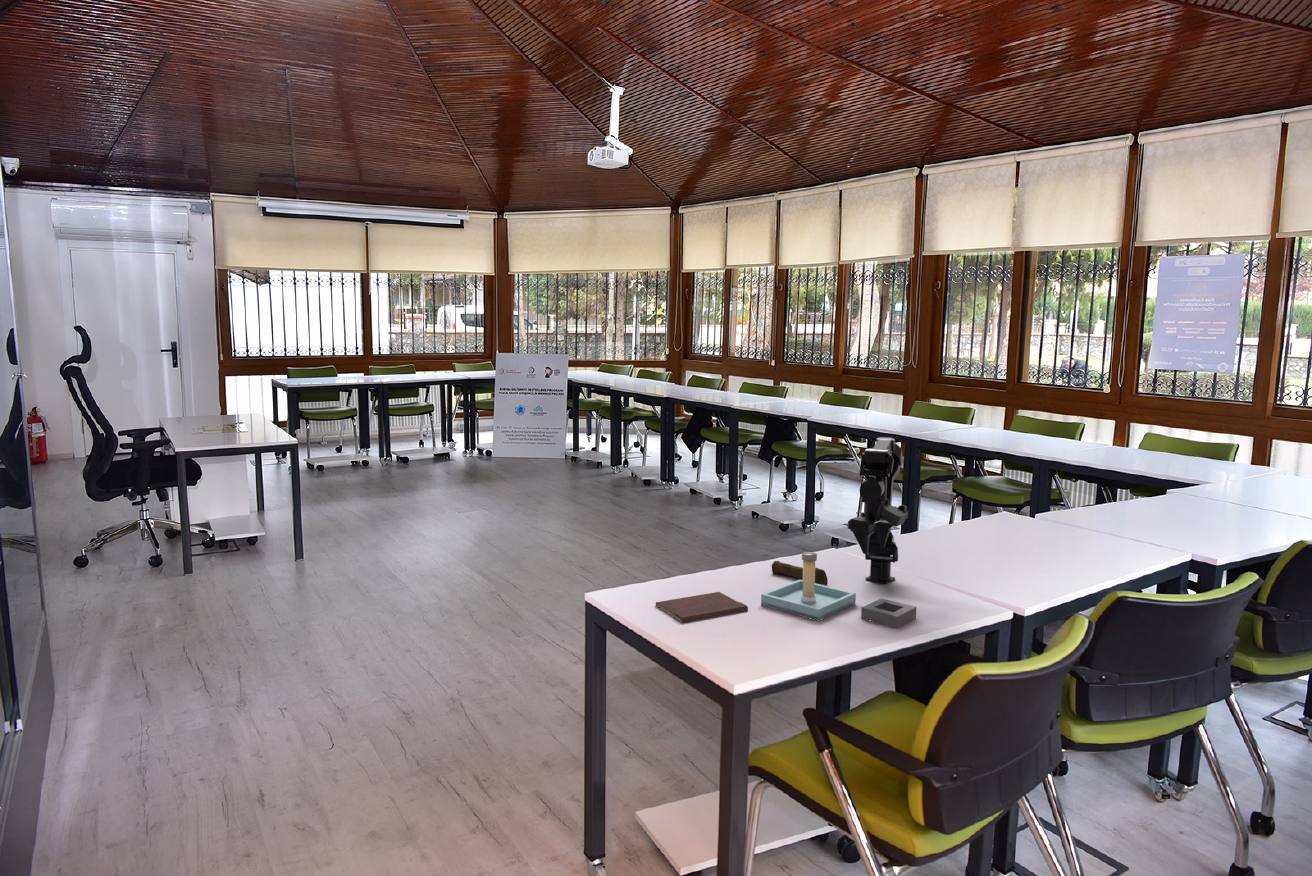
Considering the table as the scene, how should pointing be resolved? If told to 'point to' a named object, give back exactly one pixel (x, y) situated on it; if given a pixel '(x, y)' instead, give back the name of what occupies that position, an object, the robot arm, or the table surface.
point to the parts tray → (824, 606)
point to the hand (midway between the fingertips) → (873, 550)
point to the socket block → (888, 612)
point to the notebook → (701, 607)
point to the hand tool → (798, 572)
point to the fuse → (808, 577)
